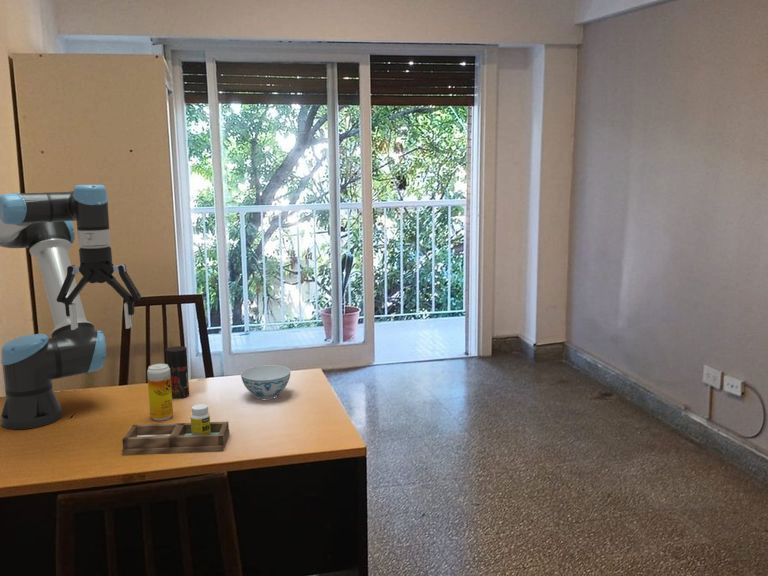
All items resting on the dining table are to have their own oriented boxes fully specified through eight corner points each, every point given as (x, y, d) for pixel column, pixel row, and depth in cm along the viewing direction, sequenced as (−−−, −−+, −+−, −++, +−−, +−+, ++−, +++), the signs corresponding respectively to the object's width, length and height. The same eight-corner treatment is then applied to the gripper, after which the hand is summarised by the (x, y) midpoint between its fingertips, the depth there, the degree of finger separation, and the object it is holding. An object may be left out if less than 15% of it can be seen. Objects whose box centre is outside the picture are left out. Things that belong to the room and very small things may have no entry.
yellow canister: (166, 422, 185) (162, 370, 182) (146, 420, 186) (142, 369, 184) (177, 414, 191) (173, 363, 188) (157, 412, 192) (154, 362, 190)
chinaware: (258, 408, 195) (257, 383, 194) (232, 395, 206) (231, 371, 205) (300, 396, 205) (300, 372, 204) (274, 385, 216) (273, 362, 215)
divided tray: (122, 454, 164) (121, 440, 164) (135, 437, 175) (133, 423, 175) (223, 451, 166) (222, 437, 166) (229, 433, 177) (228, 420, 176)
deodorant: (169, 393, 208) (166, 347, 206) (189, 391, 210) (186, 345, 207) (169, 399, 203) (166, 352, 200) (189, 397, 205) (186, 350, 202)
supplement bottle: (204, 442, 168) (202, 410, 167) (188, 440, 169) (186, 409, 168) (214, 435, 173) (212, 404, 171) (198, 433, 174) (196, 402, 172)
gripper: (37, 248, 164) (45, 332, 168) (141, 247, 166) (147, 330, 170) (49, 245, 172) (57, 325, 175) (149, 243, 174) (154, 323, 177)
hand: (101, 328), depth 173 cm, fingers open, 13 cm apart
